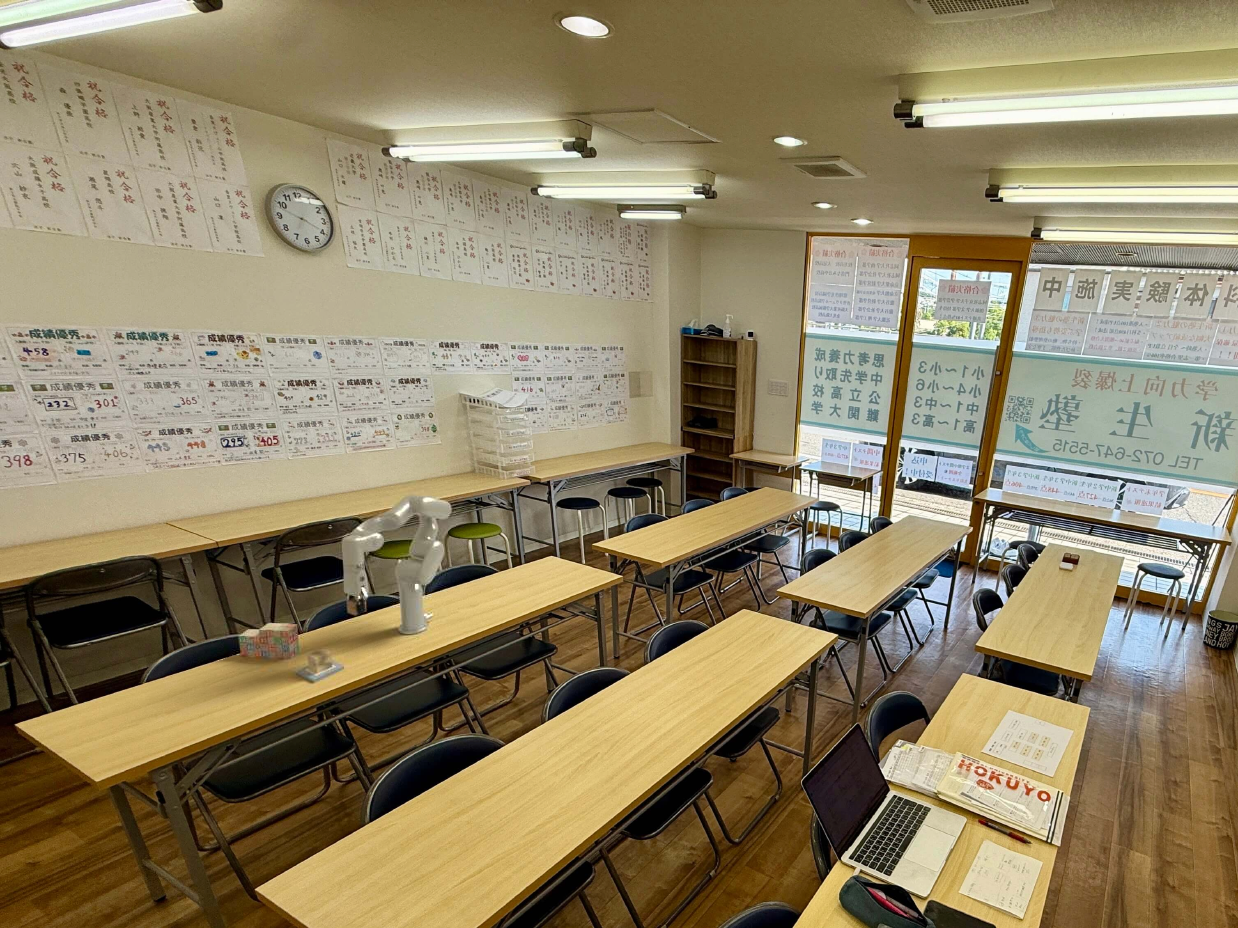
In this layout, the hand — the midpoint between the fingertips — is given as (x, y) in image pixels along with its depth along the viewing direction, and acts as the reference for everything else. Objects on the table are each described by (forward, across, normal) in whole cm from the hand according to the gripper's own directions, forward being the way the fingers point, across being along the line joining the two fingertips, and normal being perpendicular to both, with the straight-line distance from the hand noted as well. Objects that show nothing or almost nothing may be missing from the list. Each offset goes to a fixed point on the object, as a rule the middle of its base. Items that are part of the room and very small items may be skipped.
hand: (356, 610), depth 231 cm
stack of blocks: (+21, +34, +18) cm, 44 cm away
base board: (+20, +4, +14) cm, 25 cm away
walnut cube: (+1, 0, 0) cm, 1 cm away
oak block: (+19, +4, +14) cm, 24 cm away
